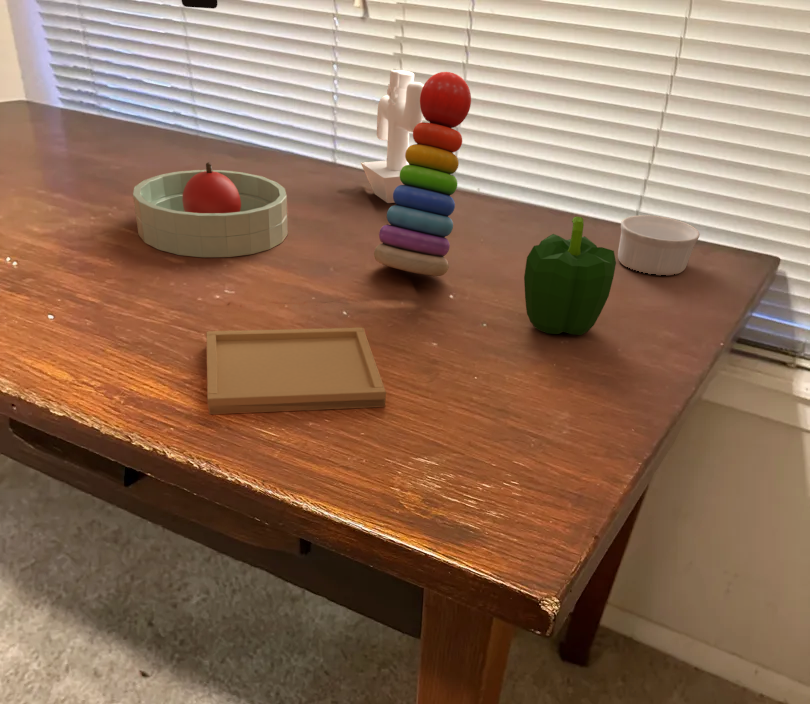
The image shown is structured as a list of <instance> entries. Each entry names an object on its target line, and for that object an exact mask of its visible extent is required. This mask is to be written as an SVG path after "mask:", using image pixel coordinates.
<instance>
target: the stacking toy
mask: <svg viewBox="0 0 810 704" xmlns="http://www.w3.org/2000/svg"><path fill="white" fill-rule="evenodd" d="M423 85H424V86H423V88H422V91H421V95H420V108H421V111H422V114H423V119H424V120H425V121H426V122H425V121H424V122H423V121H422V123H419V124H417V125H416V126H415V128H414V130H413V132H412V138H413V141H414V142H415V143H414V144H411V145H409V147H408V148H407V150H406V153H405V158H406V161H407V162H408V163H409V165H405V166H404V167H403V168H402V169H401V171H400V180H401V182H402V183H403V184H404V185H399V186H397V187H396V188H395V190H394V193H393V200H394V202H395V203H394V205H393V204H392V205H391V206H390V207H389V208H388V210H387V212H386V220H387V223H388V224H385V225H383V226H381V227H380V229H379V232H378V236H379V240H380V242H381V243H379V244H377V246H376V247H375V248H374V251H373V257H374V259H375V261H376V262H377V263H378V264H382V265H383V266H387V267H389V268H393V269H397V270H400V271H405V272H407V273H408V272H409V273H414V274H418V275H425V276H432V277H442V276H444V275H445V274H446V273H447V272H448V270H449V261H448V260H447V258H445V257H444V256H446V255H447V254H448V253H449V252H450V251H449V250H450V246H451V245H450V241H449V240H448V238H447V237H448V236H450V234H452V232H453V229H454V222H453V220H452V218H451V217H449V216H451V215H452V214H453V213H454V211H455V208H456V202H455V199H454V198H453V197H452V195H453V194H454V193H456V191H457V188H458V179H457V177H456V176H455V175H453V174H454V173H456V172H457V170H458V168H459V163H460V162H459V158H458V157H457V155H456V154H455V153H456V152H457V151H459V150H460V149H461V147H462V145H463V136H462V134H461V133H460V131H458V130H456V129H454V128H457V127H458V126H459V125H461V124H462V123H463V122H464V120H466V118H467V117H468V115H469V113H470V109H471V106H472V105H471V104H472V95H471V90H470V88H469V85H468V84H467V82H466V80H465V79H464V78H463V77H462V76H460V75H458V74H457V73H455V72H450V71H440V72H437V73H435V74H433V75H431V76H430V77H429V78H428V79H427V80H426V81H425V83H424V84H423Z"/></svg>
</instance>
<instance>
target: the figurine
mask: <svg viewBox="0 0 810 704" xmlns="http://www.w3.org/2000/svg"><path fill="white" fill-rule="evenodd" d="M414 79H415V73H414V72H411V71H409V70H403V69H393V68H392V69H390V73H389V83H388V84H387V90H386V93H387V94H385V95H383V96H381V97H380V99H379V101H378V103H377V104H378V105H377V112H376V114H377V115H376V116H377V117H376V137H377V139H378V140H380V141H387V146H386V147H387V148H386V160H376V161H375V160H374V161H363V162H362V161H361V162H360V165H361V167H362V170H363V171H364V174H365V176H366V179H367V181H368V183H369V185H370V188H371V190H372V192H373V194H374V195H375V196H377V197H378V198H379V199H381V200H382V201H384V202H385V203H387V204H396V203H395V202H394V200H393V193H394V190H395V188H396V187H397V186H399V185H404V184H403V183H402V182H401V180H400V171H401V169H402V168H403V167H404V166H405V165H409V163H408V162H407V161H406V158H405V153H406V150H407V148H408V147H409V146H410V133H413V130H414V128H415V126H416V125H417V124H419V123H422V122H423V119H424V116H423V114H422V111H421V108H420V95H421V91H422V88H423V86H424V84H423V83H422V82H420V81H415V80H414Z"/></svg>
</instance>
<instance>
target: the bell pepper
mask: <svg viewBox="0 0 810 704" xmlns="http://www.w3.org/2000/svg"><path fill="white" fill-rule="evenodd" d="M571 223H572V228H571V236H570V239H567V238H564V237H561V236H560V235H558V234H555V233H551V234H550V235H548V236H547V237H545V238H544V239H542V240H541V241H540V242H539V244H537V245H533V247H532V248H531V250H530V251H529V252H528V255H527V256H526V261H525V269H524V275H523V282H524V299H525V308H526V309H525V310H526V315H527V317H528V319H529V321H530V323H531V324H532V326H533V327H534V328H535V329H536V330H538V331H541V332H544V333H546V334H551V335H552V334H553V335H559V334H562V333H566V334H569V335H576V336H577V335H578V336H582V335H584V334H586V333H588V332H589V331H590V330H591V329H592V328H593V327H594V326H595V324H596V322H597V320H598V319H599V317H600V316H601V313H602V311H603V309H604V307H605V305H606V303H607V301H608V298H609V296H610V292H611V288H612V285H613V280H614V276H615V270H616V266H617V261H616V260H617V259H616V255H615V250H613V249H609V248H606V247H604V246H603V247H602V246H597V245H596V244H595V243H594V242H593V241H592V240H590V239H589V238H588V237H587V236H583V233H584V226H585V225H584V218H583V217H582V216H574V217H573V218H572V220H571Z"/></svg>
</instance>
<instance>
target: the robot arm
mask: <svg viewBox="0 0 810 704" xmlns="http://www.w3.org/2000/svg"><path fill="white" fill-rule="evenodd" d="M181 4H182V6H184V7H186V8H197V9H198V8H199V9H213V10H214V9H217V7H218V0H181Z"/></svg>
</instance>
